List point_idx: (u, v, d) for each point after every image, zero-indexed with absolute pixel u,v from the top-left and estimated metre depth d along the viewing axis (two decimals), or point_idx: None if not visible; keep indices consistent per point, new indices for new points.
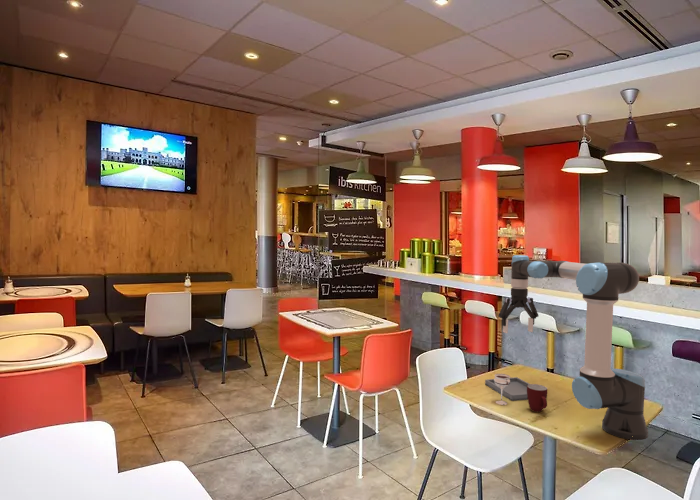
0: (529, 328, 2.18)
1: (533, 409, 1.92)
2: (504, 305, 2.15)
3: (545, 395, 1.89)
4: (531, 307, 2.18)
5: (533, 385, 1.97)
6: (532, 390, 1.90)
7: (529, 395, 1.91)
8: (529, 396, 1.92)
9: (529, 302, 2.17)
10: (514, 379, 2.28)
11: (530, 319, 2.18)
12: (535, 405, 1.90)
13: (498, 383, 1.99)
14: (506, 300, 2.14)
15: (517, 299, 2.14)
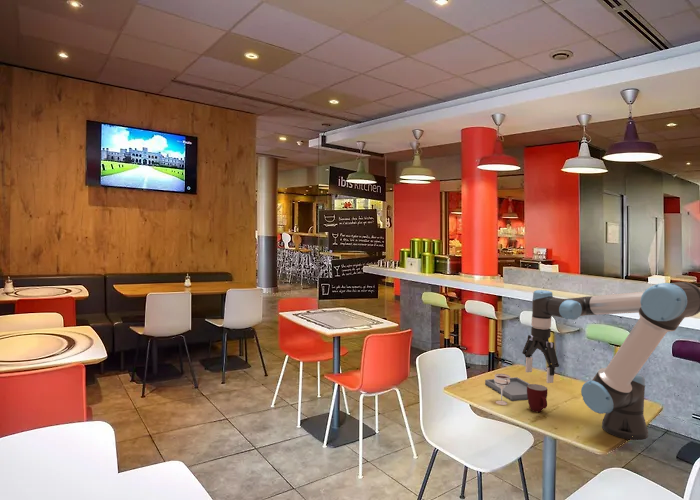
0: None
1: (533, 409, 1.92)
2: None
3: (545, 395, 1.89)
4: None
5: (533, 385, 1.97)
6: (532, 390, 1.90)
7: (529, 395, 1.91)
8: (529, 396, 1.92)
9: None
10: (514, 379, 2.28)
11: None
12: (535, 405, 1.90)
13: (498, 383, 1.99)
14: None
15: (535, 339, 1.92)
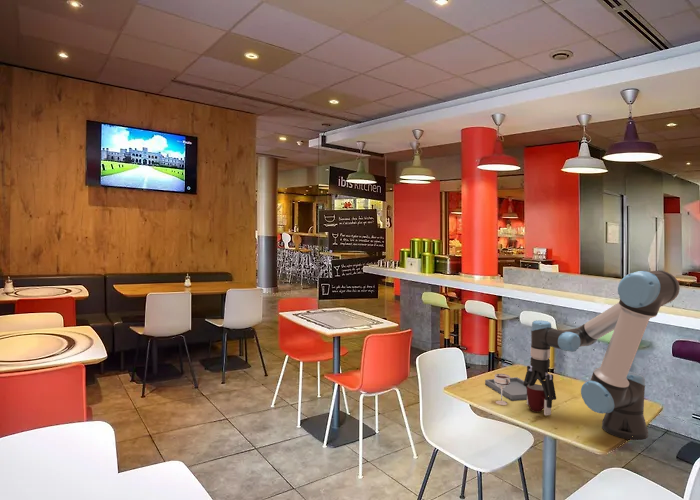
0: None
1: (533, 409, 1.92)
2: None
3: None
4: None
5: (533, 385, 1.97)
6: (532, 390, 1.90)
7: (529, 395, 1.91)
8: (529, 396, 1.92)
9: None
10: (514, 379, 2.28)
11: None
12: (535, 405, 1.90)
13: (498, 383, 1.99)
14: None
15: (534, 368, 1.92)
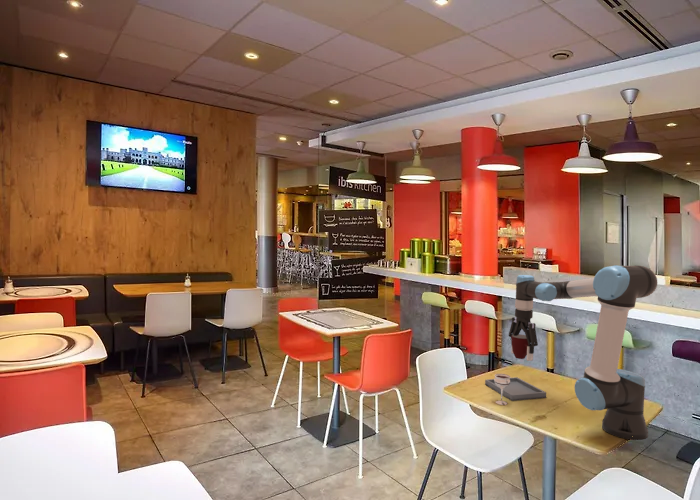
0: None
1: (517, 356, 2.08)
2: None
3: None
4: None
5: (517, 335, 2.13)
6: (516, 338, 2.06)
7: (513, 343, 2.08)
8: (513, 344, 2.08)
9: None
10: (514, 379, 2.28)
11: None
12: (519, 352, 2.06)
13: (498, 383, 1.99)
14: None
15: (519, 319, 2.09)
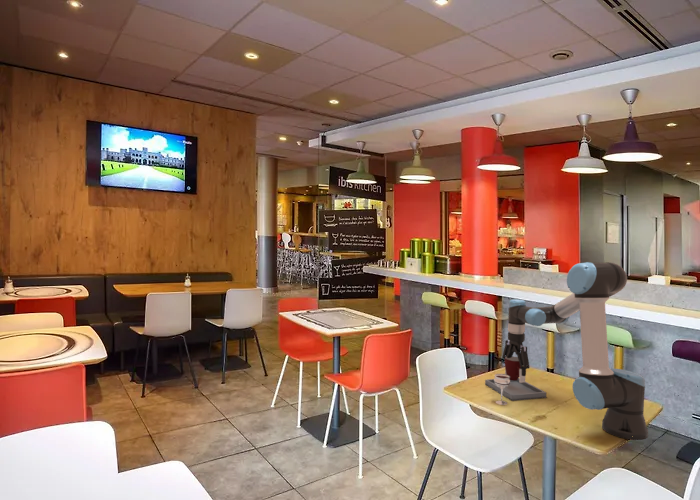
0: None
1: (510, 378, 2.16)
2: None
3: None
4: None
5: None
6: (509, 361, 2.14)
7: (506, 365, 2.16)
8: (506, 366, 2.16)
9: None
10: None
11: None
12: (511, 374, 2.14)
13: (498, 383, 1.99)
14: None
15: (511, 342, 2.17)
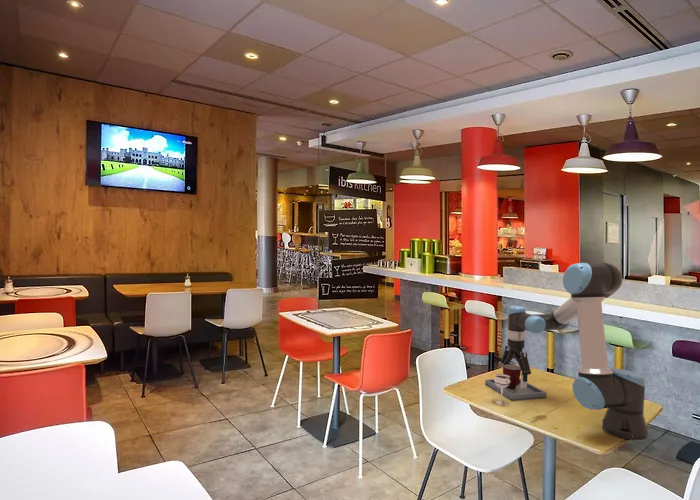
0: None
1: (508, 386, 2.17)
2: None
3: (518, 374, 2.15)
4: None
5: (509, 365, 2.22)
6: (507, 369, 2.16)
7: None
8: None
9: None
10: None
11: None
12: None
13: (498, 383, 1.99)
14: None
15: (511, 349, 2.17)
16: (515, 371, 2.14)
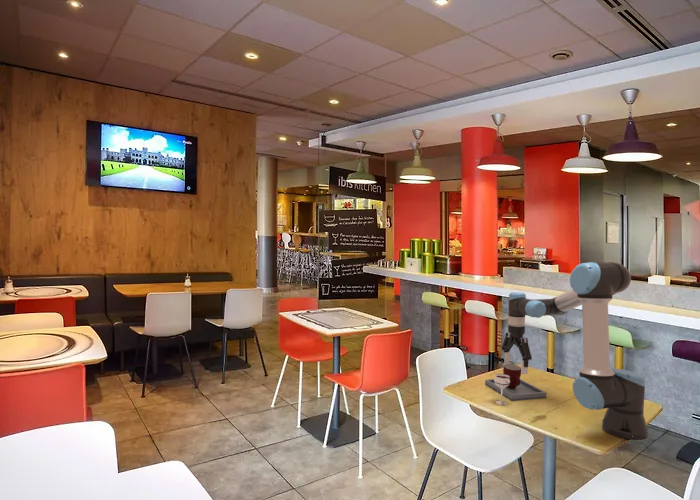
0: None
1: (508, 386, 2.17)
2: None
3: (519, 374, 2.15)
4: None
5: (509, 365, 2.22)
6: (507, 370, 2.15)
7: None
8: None
9: None
10: None
11: None
12: (510, 383, 2.16)
13: (498, 383, 1.99)
14: None
15: (512, 335, 2.16)
16: (515, 371, 2.14)
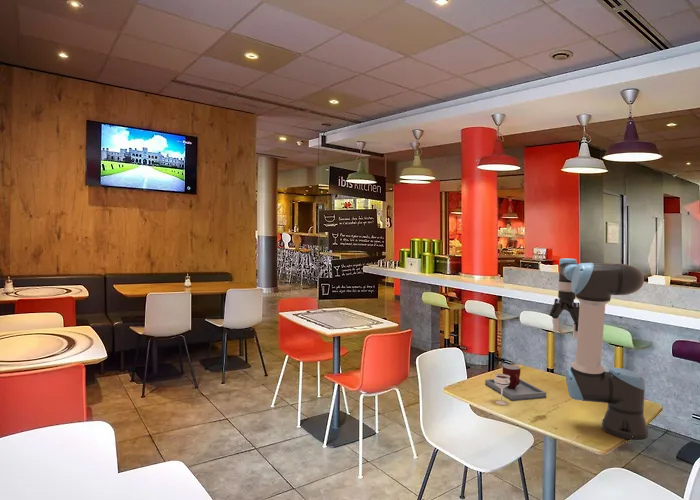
0: None
1: (508, 386, 2.17)
2: None
3: (518, 373, 2.15)
4: None
5: (508, 365, 2.22)
6: (507, 369, 2.16)
7: None
8: None
9: None
10: None
11: None
12: None
13: (498, 383, 1.99)
14: None
15: (562, 301, 2.19)
16: (515, 371, 2.15)
